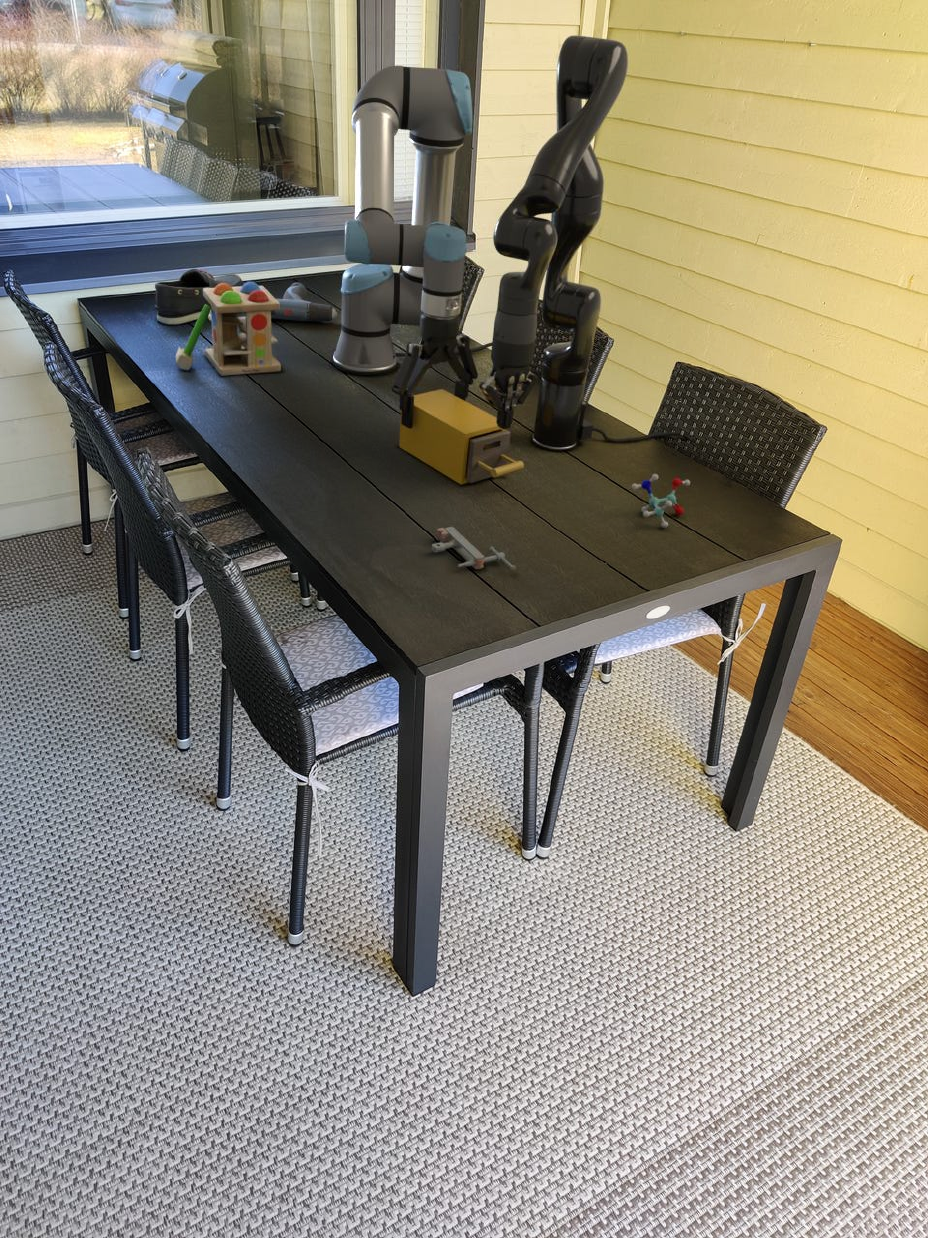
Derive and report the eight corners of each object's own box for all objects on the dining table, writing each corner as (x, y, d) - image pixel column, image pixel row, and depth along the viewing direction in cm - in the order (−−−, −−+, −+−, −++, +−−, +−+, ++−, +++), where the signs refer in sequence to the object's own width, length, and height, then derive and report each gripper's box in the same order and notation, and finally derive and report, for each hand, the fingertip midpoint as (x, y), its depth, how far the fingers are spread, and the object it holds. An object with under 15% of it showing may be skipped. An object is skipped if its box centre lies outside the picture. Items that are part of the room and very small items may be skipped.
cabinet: (500, 472, 195) (506, 422, 189) (460, 484, 189) (465, 433, 183) (438, 436, 207) (442, 388, 201) (399, 446, 201) (401, 398, 195)
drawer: (525, 483, 189) (531, 443, 185) (490, 495, 184) (494, 453, 179) (446, 438, 204) (449, 399, 199) (411, 447, 199) (413, 408, 194)
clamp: (422, 531, 168) (472, 521, 172) (421, 542, 169) (471, 532, 174) (465, 574, 157) (517, 562, 162) (464, 586, 159) (516, 573, 163)
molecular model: (693, 521, 176) (676, 468, 175) (642, 536, 180) (626, 484, 178) (699, 512, 187) (684, 462, 185) (651, 526, 190) (636, 477, 189)
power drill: (344, 304, 276) (335, 327, 259) (277, 298, 275) (264, 321, 258) (344, 285, 273) (335, 306, 256) (277, 279, 272) (264, 300, 255)
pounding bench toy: (183, 379, 220) (176, 299, 210) (169, 357, 231) (162, 280, 221) (282, 371, 230) (280, 294, 220) (264, 350, 240) (262, 276, 230)
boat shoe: (263, 303, 272) (261, 264, 267) (174, 326, 248) (170, 284, 243) (229, 294, 278) (227, 256, 272) (139, 317, 254) (134, 275, 248)
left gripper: (400, 328, 177) (395, 438, 188) (502, 310, 191) (491, 414, 203) (375, 316, 181) (372, 424, 193) (476, 300, 195) (467, 401, 207)
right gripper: (500, 347, 166) (490, 442, 176) (555, 336, 174) (543, 427, 184) (472, 334, 171) (463, 427, 181) (527, 323, 178) (516, 413, 188)
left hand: (433, 419), depth 198 cm, fingers open, 13 cm apart
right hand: (503, 427), depth 182 cm, fingers closed
